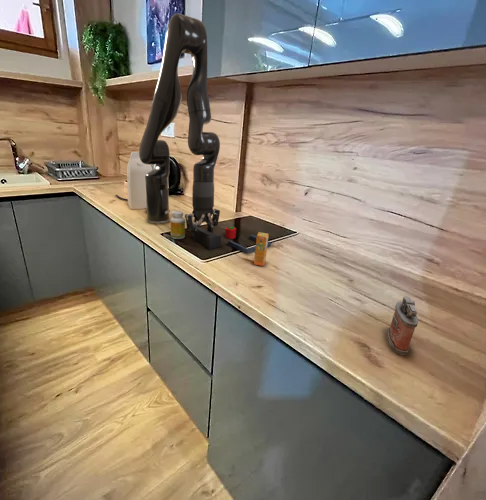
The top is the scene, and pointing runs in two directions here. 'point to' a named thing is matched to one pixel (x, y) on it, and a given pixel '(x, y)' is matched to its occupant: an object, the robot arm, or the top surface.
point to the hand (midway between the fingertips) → (202, 238)
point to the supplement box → (261, 248)
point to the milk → (137, 181)
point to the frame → (243, 249)
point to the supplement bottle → (177, 225)
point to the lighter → (402, 325)
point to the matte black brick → (208, 238)
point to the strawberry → (230, 232)
